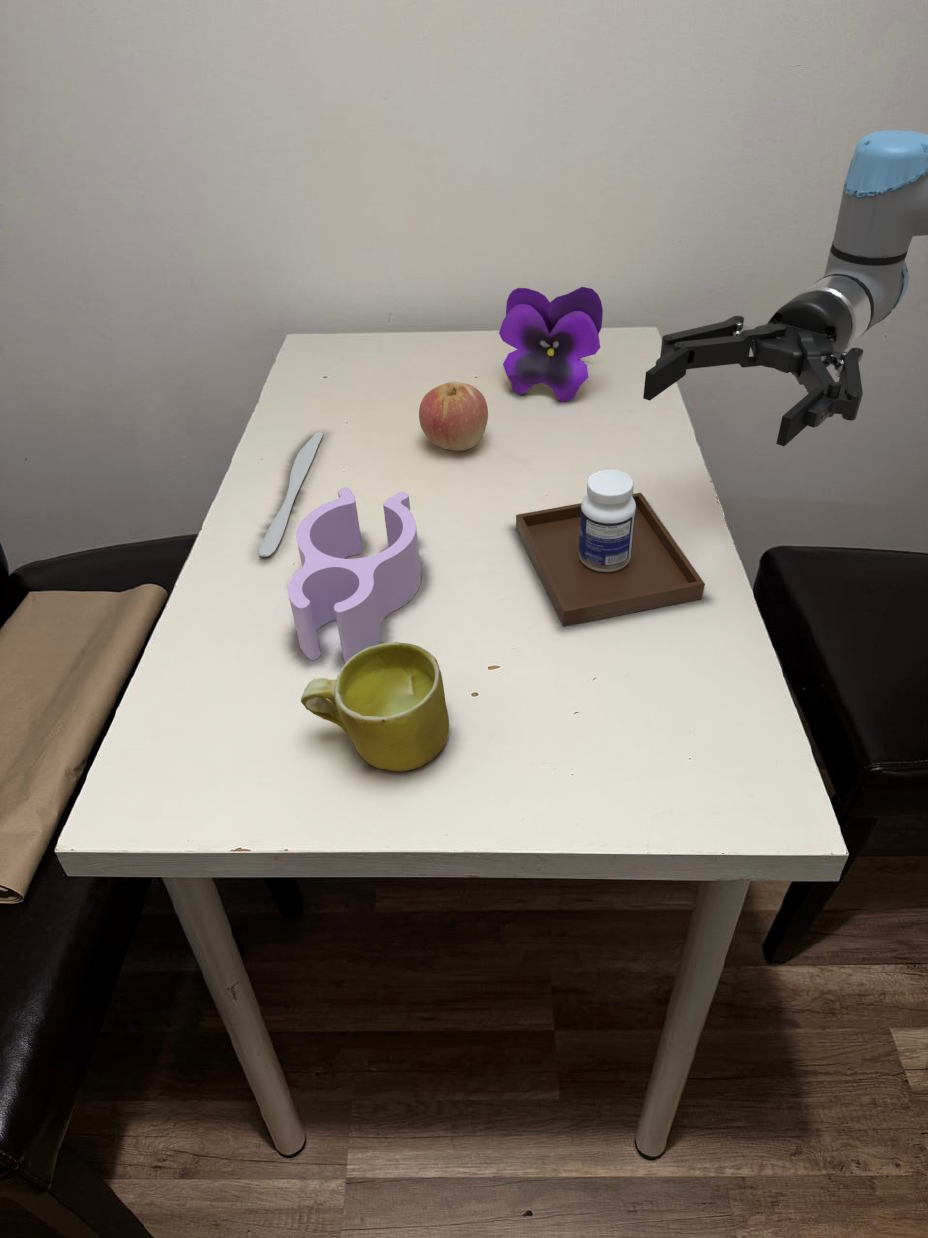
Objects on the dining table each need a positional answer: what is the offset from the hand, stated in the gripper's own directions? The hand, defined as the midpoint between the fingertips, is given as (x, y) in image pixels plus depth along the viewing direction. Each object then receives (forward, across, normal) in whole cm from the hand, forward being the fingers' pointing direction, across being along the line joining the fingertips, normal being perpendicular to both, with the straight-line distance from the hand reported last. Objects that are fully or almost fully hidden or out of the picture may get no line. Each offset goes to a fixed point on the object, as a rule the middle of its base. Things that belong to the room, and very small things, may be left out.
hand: (712, 408), depth 80 cm
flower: (-29, +39, -21) cm, 53 cm away
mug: (+35, +10, -21) cm, 42 cm away
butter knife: (+14, +47, -21) cm, 53 cm away
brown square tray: (+2, +9, -21) cm, 23 cm away
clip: (+23, +26, -21) cm, 41 cm away
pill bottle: (+2, +9, -21) cm, 23 cm away
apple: (-7, +38, -21) cm, 44 cm away
